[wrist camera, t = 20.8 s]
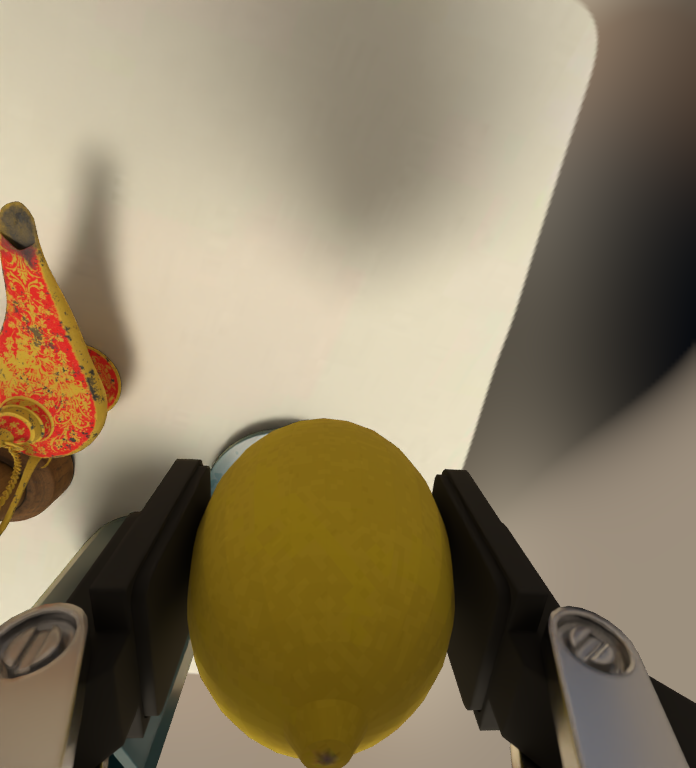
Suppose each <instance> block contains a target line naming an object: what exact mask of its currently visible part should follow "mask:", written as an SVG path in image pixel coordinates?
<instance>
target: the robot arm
mask: <svg viewBox="0 0 696 768" xmlns="http://www.w3.org/2000/svg"><path fill="white" fill-rule="evenodd" d="M432 495H433V498H434V500H435V502H436V505H437V507H438V509H439V512H440V514H441V517H442V519H443V522H444V525H445V528H446V532H447V535H448V539H449V545H450V551H451V560H452V570H453V581H454V593H455V613H454V622H453V629H452V633H451V637H450V641H449V645H448V650H447V653H448V656H449V659H450V663H451V666H452V669H453V672H454V675H455V679H456V681H457V685H458V688H459V691H460V694H461V697H462V701H463V703H464V706H465V708H466V709H467V710H473V711H474V714H475V717H476V720H477V723H478V726H479V729H480V730H500V732H501V735H502V736H503V737H504V738H505V739H506V740H508V741H509V742H510V750H511V762H512V768H696V703H694V702H693V701H691V700H689V699H687V698H686V697H684V696H682V695H681V694H679V693H677V692H676V691H674V690H672V689H670V688H669V687H667V686H665V685H664V684H662V683H660V682H659V681H656V680H655V679H654V678H652V677H650V676H648V673H647V671H646V670H645V667H644V665H643V662H642V660H641V658H640V656H639V653H638V652H637V650H636V649H635V647H634V645H633V644H632V642H631V641H630V640H629V639H628V638H627V637H626V635H625V634H623V632H622V631H621V630H620V629H618V628H617V627H616V626H614V625H613V624H612V623H611V622H609V621H608V620H606V619H605V618H603V617H601V616H599V615H597V614H596V613H594V612H591V611H588V610H585V609H583V608H578V607H572V606H566V607H560V606H559V604H558V603H557V601H556V600H555V598H554V597H553V595H552V594H551V592H550V591H549V589H548V588H547V586H546V585H545V583H544V582H543V580H542V579H541V577H540V576H539V574H538V573H537V571H536V570H535V568H534V567H533V565H532V564H531V562H530V561H529V559H528V558H527V556H526V555H525V553H524V552H523V550H522V549H521V548H520V546H519V544H518V543H517V542H516V540H515V539H514V537H513V536H512V534H511V533H510V531H509V530H508V528H507V527H506V526H505V525H504V524H503V523H502V522H501V521H500V520H499V518H498V516H497V515H496V514H495V512H494V510H493V509H492V507H491V506H490V504H489V503H488V501H487V500H486V498H485V497H484V495H483V494H482V492H481V491H480V489H479V488H478V486H477V485H476V483H475V482H474V480H473V479H472V477H471V476H470V474H469V473H468V472H467V471H466V470H450V469H445V470H443V472H442V475H436V477H435V480H434V486H433V492H432ZM210 499H211V476H210V467H209V466H203V463H202V460H196V459H177V460H176V461H175V462H174V464H173V465H172V466H171V468H170V469H169V471H168V472H167V474H166V475H165V477H164V478H163V480H162V481H161V483H160V484H159V486H158V487H157V489H156V490H155V492H154V493H153V495H152V496H151V498H150V499H149V501H148V502H147V503H146V505H145V506H144V508H143V509H142V511H141V512H133V513H130V514H129V515H128V516H127V517H126V519H125V520H124V521H123V523H122V524H121V526H120V527H119V528H118V530H117V531H116V533H115V534H114V535H113V537H112V538H111V540H110V541H109V542H108V544H107V545H106V547H105V548H104V549H103V551H102V552H101V554H100V555H99V556H98V558H97V559H96V561H95V562H94V563H93V565H92V566H91V568H90V569H89V570H88V572H87V573H86V575H85V576H84V577H83V579H82V580H81V582H80V583H79V584H78V586H77V587H76V589H75V590H74V591H73V593H72V594H71V596H70V597H69V598H68V600H67V601H66V603H61V602H60V603H52V604H44V605H41V606H38V607H35V608H32V609H29V610H26V611H24V612H22V613H20V614H18V615H16V616H14V617H12V618H11V619H9V620H8V621H6V622H5V623H3V624H2V625H1V626H0V768H108V761H109V756H111V755H112V754H113V753H114V752H116V751H117V750H118V749H119V748H121V747H122V746H123V745H124V743H125V740H126V739H127V738H143V737H144V734H145V731H146V729H147V726H148V723H149V720H150V717H151V716H159V715H160V714H161V712H162V710H163V707H164V705H165V702H166V699H167V696H168V693H169V690H170V687H171V684H172V681H173V678H174V675H175V672H176V669H177V666H178V663H179V660H180V657H181V654H182V651H183V648H184V645H185V643H186V640H187V637H188V634H189V627H188V620H187V597H188V585H189V577H190V569H191V561H192V554H193V547H194V542H195V538H196V533H197V530H198V527H199V524H200V521H201V519H202V516H203V514H204V512H205V510H206V508H207V506H208V503H209V501H210Z"/></svg>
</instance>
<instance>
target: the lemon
mask: <svg viewBox="0 0 696 768" xmlns="http://www.w3.org/2000/svg"><path fill="white" fill-rule="evenodd" d="M454 613H455V593H454V581H453V570H452V560H451V551H450V545H449V539H448V535H447V532H446V528H445V525H444V522H443V519H442V517H441V514H440V512H439V509H438V507H437V505H436V502H435V500H434V498H433V495H432V493H431V491H430V489H429V487H428V485H427V483H426V481H425V480H424V478H423V477H422V475H421V474H420V473H419V472H418V470H417V469H416V468H415V467H414V466H413V464H412V463H411V462H410V461H409V460H408V458H407V457H406V456H405V455H404V454H403V452H402V451H401V450H400V449H399V448H398V447H396V446H395V445H394V444H392V443H391V442H389V441H388V440H386V439H385V438H384V437H382V436H381V435H379V434H378V433H376V432H375V431H373V430H370V429H368V428H365V427H362V426H359V425H357V424H354V423H351V422H348V421H342V420H334V419H325V418H322V419H313V420H304V421H298V422H295V423H293V424H290V425H287V426H284V427H282V428H279V429H276V430H274V431H272V432H270V433H269V434H267V435H266V436H264V437H263V438H261V439H260V440H258V441H257V442H255V443H254V444H252V445H251V446H250V447H249V448H247V449H246V450H245V451H244V452H243V454H242V455H241V456H240V457H239V458H238V459H237V460H236V461H235V463H234V464H233V465H232V466H231V467H230V468H229V469H228V471H227V472H226V473H225V474H224V475H223V477H222V478H221V480H220V481H219V483H218V484H217V486H216V488H215V491H214V493H213V495H212V497H211V499H210V501H209V503H208V506H207V508H206V510H205V512H204V514H203V516H202V519H201V521H200V524H199V527H198V530H197V533H196V538H195V542H194V547H193V554H192V561H191V569H190V577H189V585H188V597H187V620H188V627H189V634H190V640H191V644H192V649H193V654H194V659H195V662H196V665H197V668H198V671H199V674H200V677H201V679H202V681H203V682H204V684H205V685H206V687H207V689H208V690H209V692H210V694H211V695H212V697H213V699H214V700H215V701H216V703H217V705H218V706H219V708H220V710H221V711H222V712H223V713H224V714H225V715H226V716H227V717H228V718H229V719H230V720H231V721H232V722H233V723H234V724H235V725H236V726H237V727H238V728H239V729H240V730H241V731H243V732H244V733H245V734H246V735H247V736H248V737H250V738H251V739H253V740H255V741H257V742H258V743H260V744H261V745H263V746H265V747H267V748H269V749H271V750H273V751H275V752H276V753H280V754H283V755H287V756H290V757H294V758H299V759H300V760H301V762H302V763H303V764H304V765H305V766H306V767H307V768H342V767H343V766H345V765H346V764H347V763H348V762H349V760H350V759H351V757H352V756H353V754H355V753H358V752H360V751H362V750H365V749H368V748H370V747H372V746H374V745H375V744H377V743H378V742H380V741H381V740H383V739H385V738H386V737H387V736H389V735H390V734H392V733H393V732H394V731H395V730H397V729H398V728H399V727H400V726H401V725H402V724H403V723H404V722H405V721H406V720H407V719H408V718H409V717H410V716H411V715H412V714H413V713H414V712H415V710H416V709H417V708H418V707H419V706H420V704H421V703H422V702H423V701H424V699H425V697H426V696H427V694H428V692H429V690H430V689H431V686H432V685H433V683H434V682H435V680H436V678H437V676H438V674H439V672H440V670H441V668H442V667H443V663H444V660H445V657H446V653H447V650H448V645H449V641H450V637H451V633H452V629H453V622H454Z"/></svg>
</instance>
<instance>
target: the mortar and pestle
mask: <svg viewBox="0 0 696 768" xmlns="http://www.w3.org/2000/svg"><path fill="white" fill-rule="evenodd" d="M18 454H19V455H20V457H18V458H20V459H21V460H19V461H20V462H22V463H20V465H21V466H22V467H20V469H21V471H19V472H20V475H18V476H19V479H17V483H16V484H15V488H14V489H12V493H11V494H9V498H8V499H7V500H5V504H4V505H3V506H1V510H0V521H3V519H4V517H5V515H6V513H7V511H8V509H9V507H10V505H11V502H12V500H13V498H14V495H15V493H16V491H17V488H18V486H19V483H20V480H21V478H22V475H23V472H24V470H25V467H26V464H27V462H28V459H29V457H30V456H29V455H26V454H22V453H19V452H18ZM48 460H49V458H42V459H41V460H40V461H39V462H38V464H37V465H36V467H35V469H34V471H33V473H32V475H31V477H30V479H29V481H28V483H27V485H26V487H25V490H24V492H23V494H22V496H21V499H20V501H19V503H18V505H17V507H16V509H15V512H14V514H13V516H12V518H11V520H10V522H14V521H22V520H26V519H29V518H32V517H34V516H36V515H38V514H40V513H41V512H42V511H44V510H45V509H46V508H47V507H48V506H49V505H50V504H52V503H53V501H55V500H56V499H57V498H58V497H59V496H60V495H61V494H62V493H63V492H64V491H65V490H66V489H67V488H68V486H69V485H70V483H71V480H72V477H73V462H72V458H71V455H68V456H64V457H59V458H52V459H51V462H50V463H49V464H48V465H47V466H46V467H45V468H41V467H43V466H44V465H45V464H46V463H47V462H48ZM14 463H15V462H14V458H13V456H12V455H11V453H10V452H9V450H8V448H4V447H1V448H0V497H1V496H3V495H4V494H2V493H3V492H4V491H5V490H7V489H6V486H8V485H9V483H8V482H9V481H10V480H12V479H11V478H10V477H11V476H12V475H13V474H12V472H13V471H14V469H13V468H14V466H15V465H14ZM11 486H12V485H11ZM0 501H1V500H0Z"/></svg>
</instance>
